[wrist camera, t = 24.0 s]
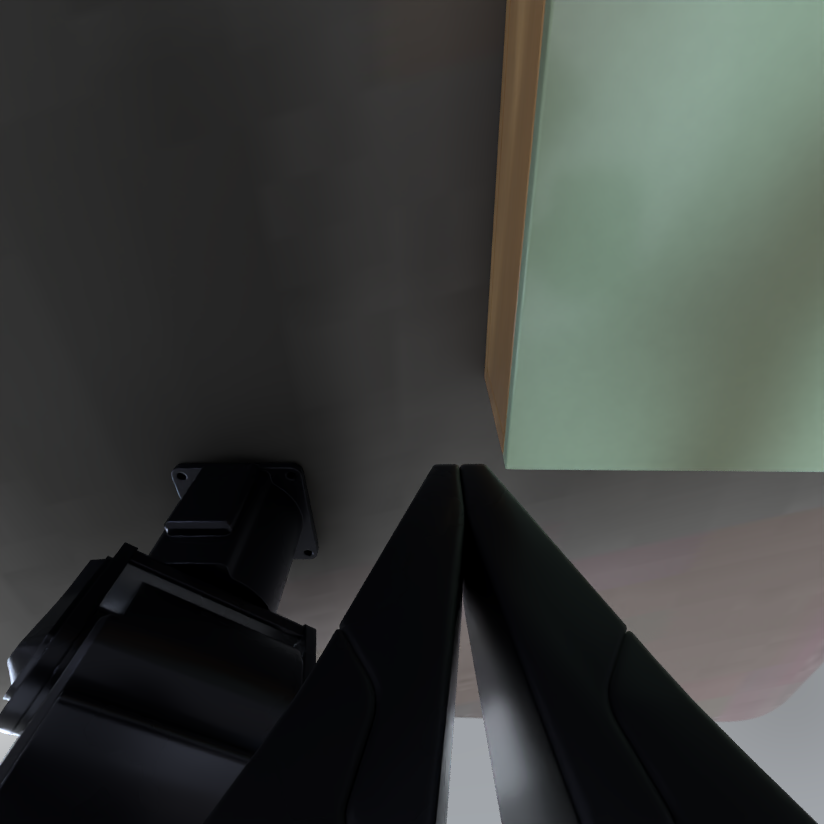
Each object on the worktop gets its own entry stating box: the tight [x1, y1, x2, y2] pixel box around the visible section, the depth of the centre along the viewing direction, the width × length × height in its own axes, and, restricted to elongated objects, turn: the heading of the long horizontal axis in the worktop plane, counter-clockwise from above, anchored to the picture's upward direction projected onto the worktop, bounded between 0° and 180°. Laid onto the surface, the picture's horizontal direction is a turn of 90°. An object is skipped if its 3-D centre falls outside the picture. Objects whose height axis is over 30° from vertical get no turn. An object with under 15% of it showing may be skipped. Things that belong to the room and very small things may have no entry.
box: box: [484, 0, 546, 453], centre depth 14 cm, size 14×14×6 cm
